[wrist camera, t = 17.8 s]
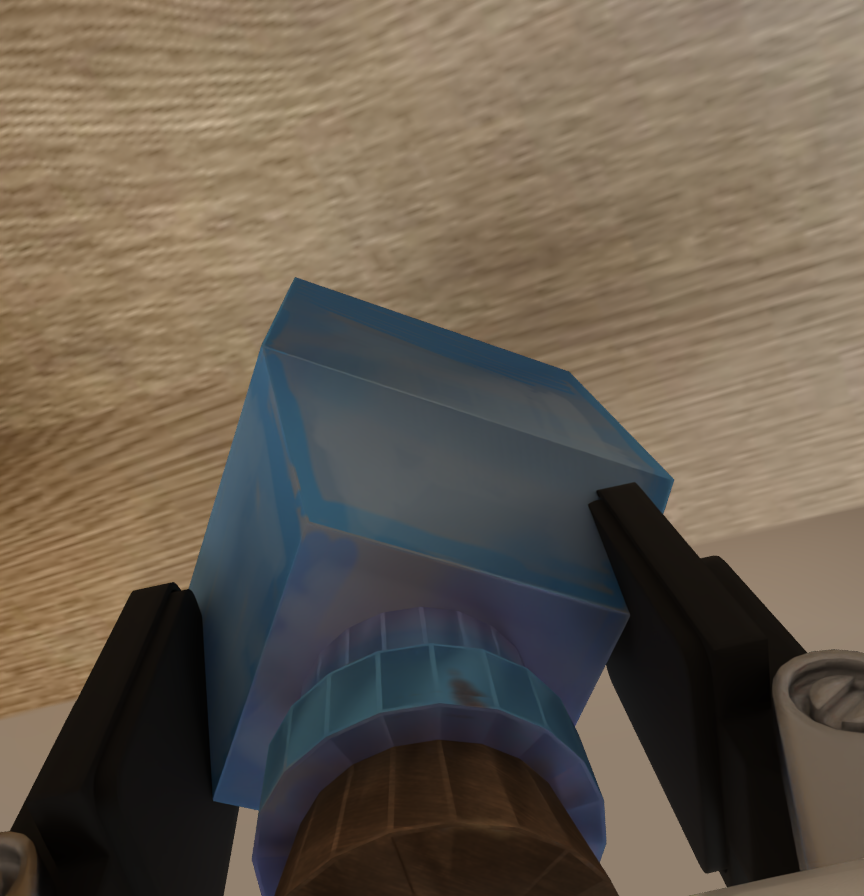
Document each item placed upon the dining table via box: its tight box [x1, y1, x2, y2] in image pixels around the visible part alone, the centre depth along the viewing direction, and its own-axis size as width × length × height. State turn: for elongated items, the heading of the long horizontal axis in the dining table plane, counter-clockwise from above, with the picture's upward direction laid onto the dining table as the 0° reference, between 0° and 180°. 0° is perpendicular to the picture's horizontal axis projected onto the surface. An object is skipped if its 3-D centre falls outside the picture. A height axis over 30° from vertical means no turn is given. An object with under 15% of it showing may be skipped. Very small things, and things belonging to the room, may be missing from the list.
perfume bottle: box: [189, 277, 674, 896], centre depth 12 cm, size 6×6×12 cm
